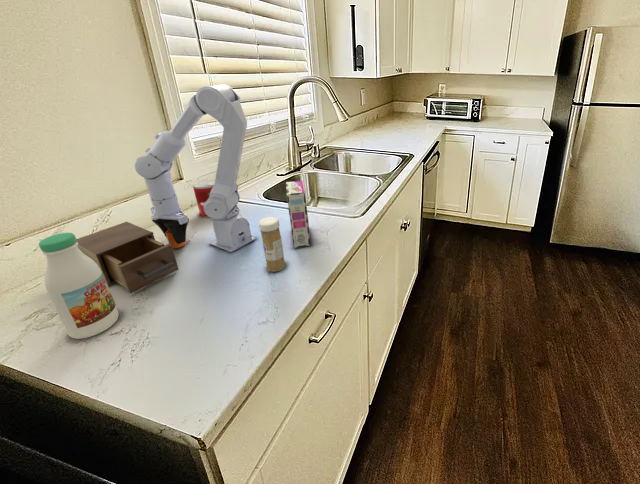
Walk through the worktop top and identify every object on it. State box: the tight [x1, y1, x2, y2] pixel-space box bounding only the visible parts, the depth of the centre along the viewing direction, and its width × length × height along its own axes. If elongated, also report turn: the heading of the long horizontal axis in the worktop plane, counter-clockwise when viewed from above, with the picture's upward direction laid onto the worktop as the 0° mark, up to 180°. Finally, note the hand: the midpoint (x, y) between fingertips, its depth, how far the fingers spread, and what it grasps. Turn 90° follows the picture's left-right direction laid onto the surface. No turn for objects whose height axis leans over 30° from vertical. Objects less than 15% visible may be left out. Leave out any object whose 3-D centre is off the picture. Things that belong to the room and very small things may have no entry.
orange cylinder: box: [165, 229, 187, 249], centre depth 93 cm, size 4×4×6 cm
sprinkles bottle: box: [258, 216, 286, 273], centre depth 81 cm, size 5×5×14 cm
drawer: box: [100, 237, 180, 295], centre depth 78 cm, size 16×10×7 cm, turn 62°
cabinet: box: [76, 221, 156, 287], centre depth 83 cm, size 13×12×9 cm
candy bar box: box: [285, 180, 312, 249], centre depth 94 cm, size 11×5×16 cm, turn 20°
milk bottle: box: [38, 232, 120, 340], centre depth 62 cm, size 8×8×20 cm
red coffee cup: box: [192, 178, 215, 218], centre depth 112 cm, size 8×8×11 cm
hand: (176, 240), depth 93 cm, fingers closed on orange cylinder, 4 cm apart
